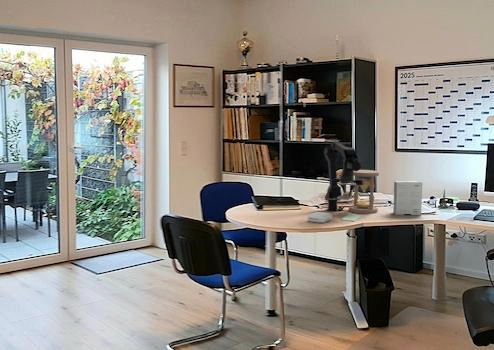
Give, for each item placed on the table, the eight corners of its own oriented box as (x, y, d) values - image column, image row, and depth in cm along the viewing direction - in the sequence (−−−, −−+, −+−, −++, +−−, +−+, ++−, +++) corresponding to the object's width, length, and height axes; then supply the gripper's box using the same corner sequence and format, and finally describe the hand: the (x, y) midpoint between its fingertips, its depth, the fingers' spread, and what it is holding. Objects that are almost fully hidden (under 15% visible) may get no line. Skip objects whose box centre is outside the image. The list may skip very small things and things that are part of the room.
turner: (344, 196, 316) (345, 191, 316) (354, 197, 314) (354, 192, 313) (337, 199, 303) (337, 194, 303) (347, 200, 300) (347, 194, 300)
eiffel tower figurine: (437, 210, 337) (438, 189, 335) (428, 207, 347) (429, 187, 345) (458, 209, 340) (459, 189, 338) (449, 207, 350) (450, 187, 348)
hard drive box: (418, 213, 325) (420, 180, 323) (421, 215, 317) (422, 182, 315) (392, 212, 327) (394, 180, 324) (394, 214, 319) (396, 182, 317)
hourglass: (383, 212, 325) (384, 172, 322) (359, 214, 319) (360, 173, 316) (366, 207, 342) (368, 169, 339) (343, 209, 335) (344, 170, 332)
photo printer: (332, 213, 301) (322, 216, 291) (332, 220, 301) (322, 224, 291) (316, 211, 306) (305, 214, 296) (315, 218, 307) (305, 221, 297)
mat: (348, 214, 318) (348, 214, 318) (362, 215, 315) (362, 215, 315) (340, 220, 302) (340, 219, 302) (354, 221, 299) (354, 220, 299)
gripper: (328, 170, 306) (328, 196, 308) (360, 171, 298) (359, 199, 299) (334, 168, 316) (333, 194, 318) (365, 170, 307) (364, 196, 309)
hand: (347, 196), depth 311 cm, fingers closed on turner, 2 cm apart
